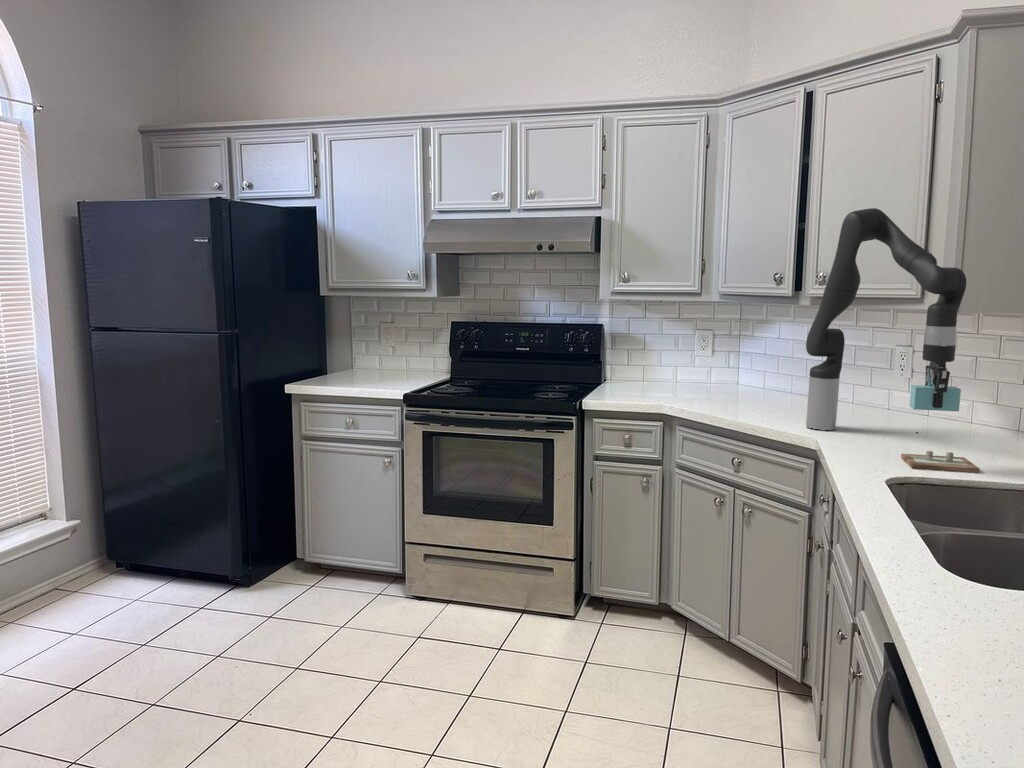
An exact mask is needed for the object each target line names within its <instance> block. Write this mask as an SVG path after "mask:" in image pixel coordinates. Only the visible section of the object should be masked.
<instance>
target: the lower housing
mask: <svg viewBox="0 0 1024 768" xmlns="http://www.w3.org/2000/svg"><path fill="white" fill-rule="evenodd" d="M939 388H941V386H940V385H939ZM961 392H962V389H961V388H959V387H957V386H952V385H951V386H949V385H948V387H947V392H946V393H944V394H943V403H942V408H934V407H933V406H932V405H933V394H934V393H933V386H927V385H925V384H923V385H922V384H911V385H910V397H909V398H910V399H909V408H911V409H913V410H919V411H920V410H922V411H937V412H938V411H940V412H941V411H942V412H960V405H961V403H960V401H961Z"/></svg>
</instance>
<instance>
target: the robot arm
mask: <svg viewBox="0 0 1024 768" xmlns="http://www.w3.org/2000/svg"><path fill="white" fill-rule="evenodd" d="M874 240H876V241H879V242H881V243H884V244H885V245H886V246H887V247H889V249H890V252H891V256H892V258H893V260H894V261H895V263H896V264H897V265H898V266H900V267H901V268H902V269H903V270H905V271H906V272H907V273H909V274H911V276H913V278H914V279H915V280H916V282H917V283H918V284H919V285H920V286H921V288H922V289H924V290H925V291H926V292H928V293H930V294H932V295H938V298H937V301H936V302H935V303H932V304H930V305H929V306H928V308H927V312H926V322H925V329H924V333H923V347H922V360H923V361H927V362H929V365H925V382H924V383H925V384H924V385H927V386H933V393H934V394H933V405H932V406H933V407H934V408H942V403H943V394H944V393H946V392H947V387H948V386H949V381H950V374H951V372H950V370H948V368H947V363H951V362H954V361H955V358H956V346H957V321H958V310H959V309H960V308H959V307H960V306H961V304H962V301H963V299H964V294H965V291H966V289H967V277H966V274H965V272H964V271H963V270H962V269H960V268H959V267H941V266H940V265H938V261H937V258H936V257H935V256H934V255H933V254H932V253H930V252H929V251H928V250H926V249H925V248H923V247H922V246H920V245H919V244H917V243H916V242H915V241H913V240H912V239H911V238H910V237H908V236H907V235H906V234H905V233H904V231H902V229H901V228H900V227H899V226H898V225H897V224H896V223H895V222H894V221H893V220H892V219H891V218H890V216H889V215H887V214H886V213H885V212H883V211H882V210H881V209H879V208H877V207H874V208H873V207H871V208H864V209H859V210H853V211H851V212H849V213H848V214H846V215H845V217H844V219H843V222H842V225H841V228H840V232H839V237H838V243H837V247H836V252H835V256H834V260H833V262H832V267H831V269H830V272H829V275H828V278H827V281H826V284H825V288H824V291H823V295H822V298H821V301H820V304H819V307H818V311H817V312H816V315H815V318H814V320H813V322H812V324H811V326H810V329H809V331H808V333H807V337H806V342H805V349H806V350H805V351H806V352H807V354H808V355H809V356H812V357H821V358H822V357H826V359H825V360H824V361H823V362H821V363H820V364H818V365H814V366H812V367H810V369H809V378H808V379H809V380H808V393H807V406H806V407H807V409H806V421H805V427H806V426H807V427H809V428H808V429H810V428H813V429H812V430H814V429H819V430H818V431H825V430H829V431H835V430H836V428H837V419H838V418H837V417H838V403H839V394H840V393H839V392H840V388H839V387H840V376H841V371H842V368H843V367H842V366H843V358H844V351H845V350H844V349H845V345H846V344H845V334H844V331H842V329H840V328H829V327H830V326H831V324H832V323H833V321H834V320H835V319H837V317H839V316H840V315H841V314H842V313H843V312H845V310H847V309H848V308H849V307H850V306H851V305H852V304H853V302H854V301H855V298H856V296H857V293H858V291H859V288H860V285H861V275H860V271H859V267H858V265H857V255H858V252H859V249H860V246H861V244H862V243H864V242H868V241H874ZM939 386H941V388H939ZM807 427H806V428H807ZM834 429H835V430H834Z"/></svg>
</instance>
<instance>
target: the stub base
mask: <svg viewBox="0 0 1024 768" xmlns="http://www.w3.org/2000/svg"><path fill="white" fill-rule="evenodd" d="M900 459H902V461H904V463H906V464H907V465H908V466H909V467H910V468H911V469H912V470H913V469H914V470H926V469H929V470H928V471H940V470H944V471H943V472H955V471H959V472H958V473H970V472H974V473H976V474H980V467H978V466H977V465H975V464H974V463H972V462H971V460H969V459H968V458H966V457H964V456H963V457H962V456H961V457H959V456H954V452H951V451H947V452H946V456H945V455H944V456H943V455H934V451H932V450H926V452H925V454H913V453H901V454H900Z"/></svg>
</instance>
